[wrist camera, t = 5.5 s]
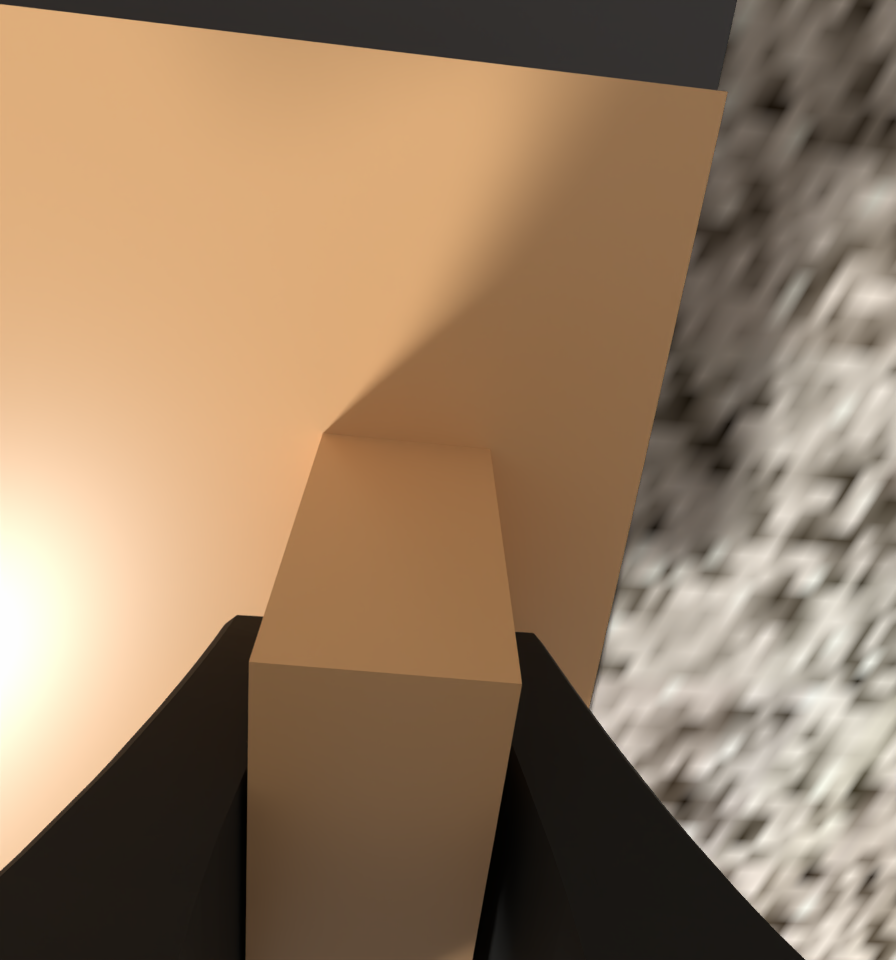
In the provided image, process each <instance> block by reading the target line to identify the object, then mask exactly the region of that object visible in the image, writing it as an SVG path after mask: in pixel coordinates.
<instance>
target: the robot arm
mask: <svg viewBox="0 0 896 960" xmlns="http://www.w3.org/2000/svg"><path fill="white" fill-rule="evenodd" d="M262 619H263V616H247V615H236V616H235V617H234V618H232V619H231V620H230V621H228V622H227V623H226V624H225V625H224V626H223V627H222V629H221V630H220V631H219V633H218V634H217V636H216V637H215V638H214V640H213V641H212V642H211V644H210V645H209V646H208V648H207V649H206V650H205V651H204V653H203V654H202V655H201V657H200V658H199V659H198V660H197V662H196V663H195V664H194V665H193V667H192V668H191V669H190V670H189V672H188V673H187V674H186V675H185V677H184V678H183V679H182V680H181V681H180V683H179V684H178V685H177V686H176V687H175V689H174V690H173V691H172V692H171V693H170V695H169V696H168V697H167V698H166V699H165V701H164V702H163V703H162V704H161V705H160V706H159V708H158V709H157V710H156V711H155V712H154V713H153V714H152V715H151V717H150V718H149V719H148V720H147V721H146V722H145V723H144V724H143V725H142V727H141V728H140V729H139V730H138V731H137V732H136V733H135V734H134V735H133V737H132V738H131V739H130V740H129V741H128V742H127V743H126V744H125V745H124V747H123V748H122V749H121V750H120V751H119V752H118V753H117V754H116V755H115V757H114V758H113V759H112V760H111V761H110V762H109V763H108V764H107V765H106V766H105V768H104V769H103V770H102V771H101V772H100V773H99V774H98V775H97V776H96V777H95V778H94V779H93V780H92V781H91V782H90V783H89V784H88V785H87V786H86V787H85V788H84V789H83V790H82V791H81V792H80V793H79V794H78V795H77V796H76V797H75V798H74V799H73V800H72V801H71V802H70V803H69V804H68V805H67V806H66V807H65V808H64V809H63V810H62V811H61V812H60V813H59V814H58V815H57V816H56V817H55V818H54V819H53V820H52V821H51V822H50V823H49V824H48V825H47V826H46V827H45V828H44V829H43V830H42V831H41V832H40V833H39V834H38V835H37V836H36V837H35V838H34V839H33V840H32V841H31V842H30V843H29V844H28V845H27V846H26V847H25V848H24V849H23V850H22V851H21V852H20V853H19V854H18V855H17V856H16V857H15V858H14V859H13V860H12V861H10V862H9V863H8V864H7V865H6V866H5V867H4V868H3V869H2V870H1V871H0V960H246V871H247V780H248V688H249V660H250V657H251V653H252V650H253V647H254V644H255V641H256V638H257V635H258V632H259V629H260V626H261V623H262ZM515 636H516V643H517V650H518V658H519V665H520V672H521V680H522V687H521V693H520V698H519V704H518V709H517V715H516V720H515V726H514V732H513V737H512V743H511V748H510V754H509V759H508V765H507V770H506V776H505V781H504V787H503V793H502V798H501V804H500V809H499V815H498V820H497V826H496V831H495V837H494V843H493V848H492V854H491V859H490V865H489V870H488V876H487V881H486V887H485V892H484V898H483V904H482V909H481V915H480V920H479V926H478V931H477V937H476V942H475V948H474V954H473V959H472V960H805V959H804V958H803V957H802V956H801V955H800V954H799V953H798V952H797V951H796V950H795V949H794V948H793V947H792V946H790V945H789V944H788V943H787V942H786V941H785V940H784V939H783V938H782V937H781V936H780V935H779V934H778V933H777V932H776V931H775V930H774V929H773V928H772V927H771V926H770V924H769V923H768V922H767V921H766V920H765V919H764V918H763V917H762V916H761V915H760V914H759V913H758V912H757V911H756V910H755V909H754V908H753V907H752V906H751V905H750V903H749V902H748V901H747V900H746V899H745V898H744V897H743V896H742V895H741V894H740V893H739V892H738V890H737V889H736V888H735V887H734V886H733V885H732V884H731V883H730V882H729V880H728V879H727V878H726V877H725V876H724V875H723V874H722V872H721V871H720V870H719V869H718V868H717V867H716V866H715V865H714V863H713V862H712V861H711V860H710V859H709V858H708V857H707V856H706V854H705V853H704V852H703V851H702V850H701V849H700V848H699V847H698V845H697V844H696V843H695V842H694V841H693V840H692V839H691V837H690V836H689V835H688V834H687V833H686V831H685V830H684V829H683V828H682V827H681V825H680V824H679V823H678V822H677V821H676V819H675V818H674V817H673V816H672V815H671V814H670V812H669V811H668V810H667V809H666V808H665V806H664V805H663V804H662V803H661V801H660V800H659V799H658V798H657V796H656V795H655V794H654V793H653V791H652V790H651V789H650V788H649V786H648V785H647V784H646V783H645V781H644V780H643V779H642V777H641V776H640V775H639V774H638V772H637V771H636V770H635V769H634V767H633V766H632V765H631V764H630V762H629V761H628V760H627V759H626V757H625V756H624V755H623V754H622V752H621V751H620V750H619V748H618V747H617V746H616V744H615V743H614V742H613V741H612V739H611V738H610V737H609V735H608V734H607V733H606V731H605V730H604V729H603V727H602V726H601V725H600V723H599V722H598V720H597V719H596V718H595V716H594V715H593V714H592V712H591V711H590V710H589V708H588V707H587V705H586V704H585V703H584V701H583V700H582V699H581V697H580V696H579V694H578V693H577V692H576V690H575V689H574V687H573V686H572V685H571V683H570V682H569V680H568V679H567V677H566V676H565V675H564V673H563V672H562V670H561V669H560V668H559V666H558V665H557V663H556V662H555V660H554V659H553V658H552V656H551V655H550V653H549V652H548V650H547V649H546V648H545V646H544V645H543V643H542V642H541V641H540V640H539V639H538V637H537V636H536V635H535V634H534V633H528V632H515Z"/></svg>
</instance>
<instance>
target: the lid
mask: <svg viewBox="0 0 896 960" xmlns="http://www.w3.org/2000/svg"><path fill="white" fill-rule="evenodd" d="M727 93H728V92H726V91H718V90H709V89H701V88H693V87H684V86H676V85H668V84H660V83H651V82H643V81H635V80H626V79H618V78H610V77H601V76H593V75H585V74H576V73H568V72H560V71H552V70H543V69H535V68H527V67H518V66H510V65H502V64H493V63H485V62H477V61H468V60H460V59H452V58H444V57H435V56H427V55H419V54H410V53H402V52H394V51H385V50H377V49H369V48H360V47H352V46H344V45H335V44H327V43H319V42H311V41H302V40H294V39H286V38H277V37H269V36H261V35H252V34H244V33H236V32H227V31H219V30H211V29H203V28H194V27H186V26H178V25H169V24H161V23H153V22H144V21H136V20H128V19H119V18H111V17H103V16H94V15H86V14H78V13H70V12H61V11H53V10H45V9H36V8H28V7H20V6H11V5H3V4H0V871H1V870H2V869H3V868H4V867H5V866H6V865H7V864H8V863H9V862H10V861H12V860H13V859H14V858H15V857H16V856H17V855H18V854H19V853H20V852H21V851H22V850H23V849H24V848H25V847H26V846H27V845H28V844H29V843H30V842H31V841H32V840H33V839H34V838H35V837H36V836H37V835H38V834H39V833H40V832H41V831H42V830H43V829H44V828H45V827H46V826H47V825H48V824H49V823H50V822H51V821H52V820H53V819H54V818H55V817H56V816H57V815H58V814H59V813H60V812H61V811H62V810H63V809H64V808H65V807H66V806H67V805H68V804H69V803H70V802H71V801H72V800H73V799H74V798H75V797H76V796H77V795H78V794H79V793H80V792H81V791H82V790H83V789H84V788H85V787H86V786H87V785H88V784H89V783H90V782H91V781H92V780H93V779H94V778H95V777H96V776H97V775H98V774H99V773H100V772H101V771H102V770H103V769H104V768H105V766H106V765H107V764H108V763H109V762H110V761H111V760H112V759H113V758H114V757H115V755H116V754H117V753H118V752H119V751H120V750H121V749H122V748H123V747H124V745H125V744H126V743H127V742H128V741H129V740H130V739H131V738H132V737H133V735H134V734H135V733H136V732H137V731H138V730H139V729H140V728H141V727H142V725H143V724H144V723H145V722H146V721H147V720H148V719H149V718H150V717H151V715H152V714H153V713H154V712H155V711H156V710H157V709H158V708H159V706H160V705H161V704H162V703H163V702H164V701H165V699H166V698H167V697H168V696H169V695H170V693H171V692H172V691H173V690H174V689H175V687H176V686H177V685H178V684H179V683H180V681H181V680H182V679H183V678H184V677H185V675H186V674H187V673H188V672H189V670H190V669H191V668H192V667H193V665H194V664H195V663H196V662H197V660H198V659H199V658H200V657H201V655H202V654H203V653H204V651H205V650H206V649H207V648H208V646H209V645H210V644H211V642H212V641H213V640H214V638H215V637H216V636H217V634H218V633H219V631H220V630H221V629H222V627H223V626H224V625H225V624H226V623H227V622H228V621H230V620H231V619H232V618H234V617H235V616H236V615H247V616H263V619H262V623H261V626H260V629H259V632H258V635H257V638H256V641H255V644H254V647H253V650H252V653H251V657H250V660H249V688H248V780H247V871H246V960H472V959H473V954H474V948H475V942H476V937H477V931H478V926H479V920H480V915H481V909H482V904H483V898H484V892H485V887H486V881H487V876H488V870H489V865H490V859H491V854H492V848H493V843H494V837H495V831H496V826H497V820H498V815H499V809H500V804H501V798H502V793H503V787H504V781H505V776H506V770H507V765H508V759H509V754H510V748H511V743H512V737H513V732H514V726H515V720H516V715H517V709H518V704H519V698H520V693H521V687H522V680H521V672H520V665H519V658H518V650H517V643H516V636H515V632H528V633H534V634H535V635H536V636H537V637H538V639H539V640H540V641H541V642H542V643H543V645H544V646H545V648H546V649H547V650H548V652H549V653H550V655H551V656H552V658H553V659H554V660H555V662H556V663H557V665H558V666H559V668H560V669H561V670H562V672H563V673H564V675H565V676H566V677H567V679H568V680H569V682H570V683H571V685H572V686H573V687H574V689H575V690H576V692H577V693H578V694H579V696H580V697H581V699H582V700H583V701H584V703H585V704H586V705H587V707H588V708H589V706H590V702H591V697H592V693H593V688H594V684H595V680H596V675H597V671H598V666H599V662H600V657H601V653H602V648H603V644H604V640H605V635H606V631H607V626H608V622H609V617H610V613H611V608H612V604H613V599H614V595H615V591H616V586H617V582H618V577H619V573H620V568H621V564H622V559H623V555H624V551H625V546H626V542H627V537H628V533H629V528H630V524H631V519H632V515H633V511H634V506H635V502H636V497H637V493H638V488H639V484H640V479H641V475H642V471H643V466H644V462H645V457H646V453H647V448H648V444H649V439H650V435H651V431H652V426H653V422H654V417H655V413H656V408H657V404H658V399H659V395H660V391H661V386H662V382H663V377H664V373H665V368H666V364H667V359H668V355H669V351H670V346H671V342H672V337H673V333H674V328H675V324H676V319H677V315H678V311H679V306H680V302H681V297H682V293H683V288H684V284H685V279H686V275H687V271H688V266H689V262H690V257H691V253H692V248H693V244H694V239H695V235H696V231H697V226H698V222H699V217H700V213H701V208H702V204H703V199H704V195H705V191H706V186H707V182H708V177H709V173H710V168H711V164H712V159H713V155H714V151H715V146H716V142H717V137H718V133H719V128H720V124H721V119H722V115H723V111H724V106H725V102H726V97H727Z"/></svg>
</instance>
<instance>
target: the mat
mask: <svg viewBox="0 0 896 960" xmlns="http://www.w3.org/2000/svg"><path fill="white" fill-rule="evenodd" d="M736 2H737V0H0V4H3V5H11V6H20V7H28V8H36V9H45V10H53V11H61V12H70V13H78V14H86V15H94V16H103V17H111V18H119V19H128V20H136V21H144V22H153V23H161V24H169V25H178V26H186V27H194V28H203V29H211V30H219V31H227V32H236V33H244V34H252V35H261V36H269V37H277V38H286V39H294V40H302V41H311V42H319V43H327V44H335V45H344V46H352V47H360V48H369V49H377V50H385V51H394V52H402V53H410V54H419V55H427V56H435V57H444V58H452V59H460V60H468V61H477V62H485V63H493V64H502V65H510V66H518V67H527V68H535V69H543V70H552V71H560V72H568V73H576V74H585V75H593V76H601V77H610V78H618V79H626V80H635V81H643V82H651V83H660V84H668V85H676V86H684V87H693V88H701V89H709V90H717V89H718V85H719V80H720V76H721V71H722V66H723V62H724V57H725V53H726V48H727V44H728V39H729V34H730V30H731V25H732V21H733V16H734V12H735V7H736Z"/></svg>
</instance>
